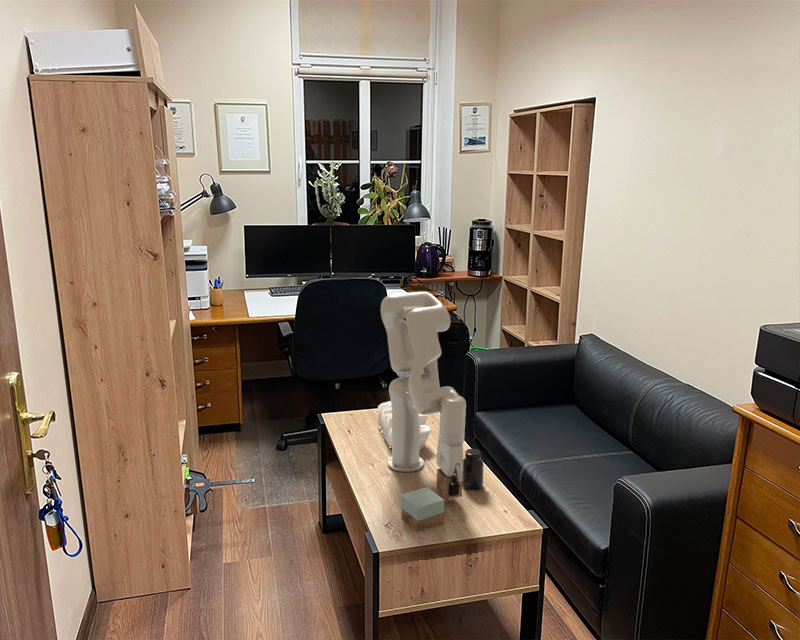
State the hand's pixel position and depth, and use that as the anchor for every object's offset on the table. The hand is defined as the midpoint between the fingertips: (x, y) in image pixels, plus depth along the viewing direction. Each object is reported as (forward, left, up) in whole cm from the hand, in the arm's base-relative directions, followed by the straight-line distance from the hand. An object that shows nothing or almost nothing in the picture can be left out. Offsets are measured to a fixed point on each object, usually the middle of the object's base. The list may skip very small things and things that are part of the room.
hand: (449, 489), depth 200 cm
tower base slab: (+8, -12, -4) cm, 15 cm away
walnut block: (0, 0, -1) cm, 1 cm away
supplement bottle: (-7, +11, -4) cm, 14 cm away
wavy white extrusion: (-53, +4, -4) cm, 54 cm away
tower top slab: (+8, -12, 0) cm, 15 cm away
